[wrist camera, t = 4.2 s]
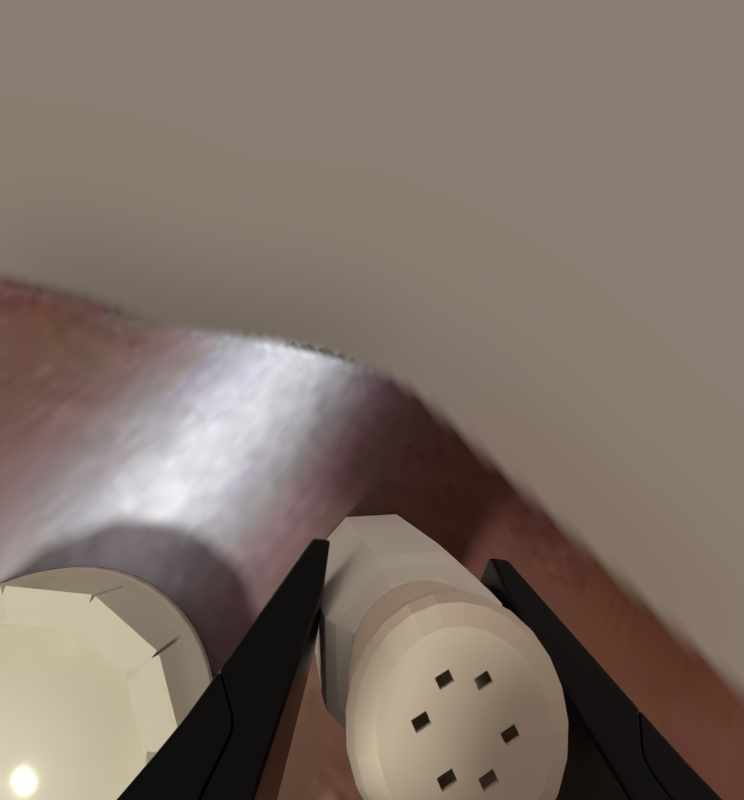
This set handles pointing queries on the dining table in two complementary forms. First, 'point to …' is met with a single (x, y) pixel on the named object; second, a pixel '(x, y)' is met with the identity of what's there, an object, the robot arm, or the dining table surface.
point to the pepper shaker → (433, 674)
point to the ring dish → (90, 681)
